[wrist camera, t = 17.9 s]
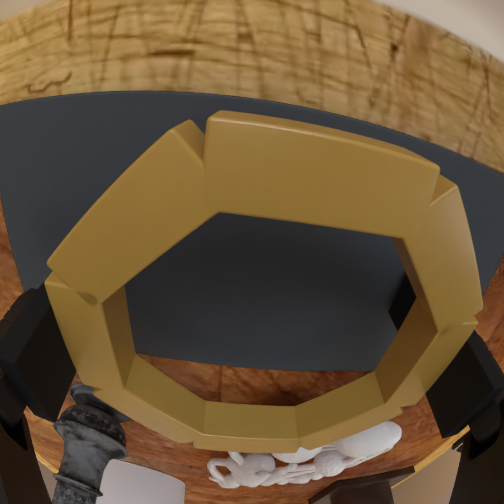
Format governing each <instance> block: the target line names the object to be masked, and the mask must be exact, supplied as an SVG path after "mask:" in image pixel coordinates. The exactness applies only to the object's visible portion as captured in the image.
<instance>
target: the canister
mask: <svg viewBox="0 0 504 504" xmlns="http://www.w3.org/2000/svg"><path fill="white" fill-rule="evenodd" d="M100 491H101V493H103V496H100V497H97V499H96V504H184V496H185V484H184V483H183V482H182V481H181V480H179V479H177V478H175V477H172V476H170V475H168V474H165V473H162V472H159V471H156V470H153V469H150V468H147V467H143V466H140V465H136V464H132V463H128V462H124V461H120V460H116V459H112V460H110V461H109V463H108V464H107V466H106V468H105V470H104V472H103V477H102V481H101V486H100Z"/></svg>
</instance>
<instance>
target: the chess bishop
mask: <svg viewBox="0 0 504 504" xmlns="http://www.w3.org/2000/svg"><path fill="white" fill-rule="evenodd" d="M94 388H95V387H92V386H88V385H84V384H83V383H79V384H75V385H73V386H72V387H71V390H70V392H71V396H72V397H73V399H74V400H75V402H76V403H77V405H74V406H70V407H68V408H67V409H66V410H65V411H64V412H62V413H61V416H60V418H59V419H57V420H56V423H53V427H54V429H55V430H56V431H57V433H58V434H60V435H61V436H62V437H63V439H64V455H63V459H62V462H61V465H60V469H59V472H58V473H57V474H53V476H54V477H55V479H56V480H57V485H56V488H55V492H54V496H53V500H52V504H96V499H97V497H100V496H103V493H101V491H100V486H101V481H102V477H103V472H104V470H105V468H106V466H107V464H108V463H109V461H110V460H112V459H124V458H126V457H128V453H129V452H128V451H127V449H126V448H125V447H126V436H125V432H124V430H123V428H122V427H121V425H120V424H119V423H121V422H126V421H129V420H131V418H130V417H128V416H126V415H124V414H123V413H121V412H119V411H118V410H116V409H115V408H113V407H111V406H110V405H108V404H107V403H105V402H103V401H102V400H100V399H99V398H97V397H96V396H94V395H93V391H94Z"/></svg>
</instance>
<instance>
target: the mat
mask: <svg viewBox="0 0 504 504" xmlns="http://www.w3.org/2000/svg"><path fill="white" fill-rule="evenodd" d="M220 110H225V111H234V112H242V113H250V114H257V115H264V116H270V117H277V118H283V119H289V120H294V121H299V122H305V123H310V124H315V125H319V126H324V127H329V128H333V129H338V130H342V131H346V132H350V133H354V134H358V135H362V136H366V137H369V138H373V139H377V140H380V141H384V142H387V143H390V144H394V145H397V146H400V147H403V148H406V149H408V150H410V151H412V152H414V153H416V154H418V155H420V156H422V157H424V158H426V159H427V160H429V161H431V162H433V163H435V164H437V165H438V166H439V167H440V173H439V174H440V175H442V176H443V177H445V178H447V179H448V180H450V181H452V182H453V183H455V184H456V185H457V186H458V188H459V191H460V195H461V198H462V201H463V205H464V209H465V212H466V216H467V220H468V224H469V228H470V232H471V237H472V241H473V246H474V251H475V256H476V261H477V267H478V273H479V279H480V286H481V293H482V296H483V294H484V292H485V291H486V289H487V287H488V285H489V283H490V281H491V279H492V278H493V276H494V274H495V272H496V270H497V268H498V266H499V264H500V262H501V259H502V257H503V255H504V175H503V174H501V173H499V172H497V171H495V170H493V169H491V168H488V167H486V166H484V165H482V164H480V163H478V162H476V161H473V160H471V159H469V158H467V157H464V156H462V155H460V154H457V153H455V152H453V151H450V150H448V149H445V148H443V147H440V146H438V145H435V144H432V143H430V142H427V141H424V140H422V139H419V138H416V137H413V136H410V135H407V134H404V133H401V132H398V131H395V130H392V129H389V128H386V127H382V126H379V125H376V124H372V123H369V122H365V121H362V120H358V119H354V118H350V117H346V116H342V115H338V114H334V113H330V112H326V111H321V110H317V109H312V108H307V107H302V106H297V105H291V104H286V103H280V102H274V101H268V100H261V99H254V98H246V97H238V96H229V95H219V94H208V93H194V92H176V91H110V92H92V93H79V94H69V95H60V96H51V97H44V98H37V99H31V100H25V101H19V102H14V103H8V104H4V105H0V195H1V201H2V207H3V212H4V218H5V223H6V227H7V232H8V236H9V240H10V244H11V248H12V252H13V256H14V260H15V263H16V267H17V270H18V273H19V277H20V280H21V283H22V286H23V289H24V292H26V291H27V290H29V289H30V288H34V289H38V288H39V287H40V285H41V284H42V283H43V282H44V280H45V279H46V278H47V277H48V275H49V274H50V273H51V272H52V270H51V269H50V268H49V267H48V265H47V260H48V259H49V257H50V256H51V255H52V254H53V252H54V251H55V250H56V248H57V247H58V246H59V245H60V243H61V242H62V241H63V239H64V238H65V237H66V236H67V235H68V233H69V232H70V231H71V230H72V228H73V227H74V226H75V225H76V224H77V222H78V221H79V220H80V219H81V218H82V217H83V215H84V214H85V213H86V212H87V211H88V210H89V209H90V208H91V206H92V205H93V204H94V203H95V202H96V201H97V200H98V199H99V198H100V196H101V195H102V194H103V193H104V192H105V191H106V190H107V189H108V188H109V187H110V186H111V185H112V184H113V183H114V182H115V181H116V180H117V179H118V178H119V176H120V175H121V174H122V173H123V172H124V171H125V170H126V169H127V168H128V167H129V166H130V165H131V164H133V163H134V162H135V161H136V160H137V159H138V158H139V157H140V156H141V155H142V154H143V153H144V152H145V151H146V150H147V149H148V148H149V147H150V146H152V145H153V144H154V143H155V142H156V141H157V140H158V139H159V138H160V137H161V136H163V135H164V134H165V133H166V132H167V131H168V130H170V129H171V128H173V127H175V126H177V125H179V124H181V123H183V122H185V121H186V120H189V119H190V120H192V121H193V122H194V123H195V124H196V125H197V127H198V128H199V129H200V130H201V131H202V132H203V134H204V135H205V129H206V121H207V119H208V117H210V116H211V115H213V114H214V113H216V112H217V111H220ZM405 275H406V271H405V269H404V267H403V265H402V262H401V260H400V258H399V256H398V254H397V251H396V249H395V247H394V245H393V243H392V241H391V239H390V237H389V236H383V235H377V234H371V233H365V232H359V231H352V230H346V229H339V228H333V227H326V226H319V225H313V224H306V223H299V222H292V221H284V220H277V219H269V218H262V217H254V216H246V215H238V214H230V213H222V212H219V213H217V214H216V215H214V216H213V217H212V218H210V219H209V220H208V221H206V222H205V223H204V224H202V225H201V226H200V227H198V228H197V229H196V230H194V231H193V232H192V233H190V234H189V235H188V236H186V237H185V238H184V239H182V240H181V241H180V242H178V243H177V244H176V245H174V246H173V247H172V248H171V249H169V250H168V251H167V252H165V253H164V254H163V255H161V256H160V257H159V258H158V259H156V260H155V261H154V262H153V263H151V264H150V265H149V266H147V267H146V268H145V269H144V270H142V271H141V272H140V273H139V274H137V275H136V276H135V277H134V278H132V279H131V280H130V281H129V282H127V283H126V284H125V292H126V300H127V306H128V313H129V319H130V325H131V331H132V337H133V342H134V347H135V352H136V353H141V354H146V355H152V356H158V357H164V358H170V359H177V360H184V361H191V362H199V363H207V364H215V365H224V366H234V367H245V368H258V369H273V370H293V371H374V369H375V368H376V366H377V365H378V363H379V362H380V360H381V359H382V357H383V355H384V354H385V352H386V351H387V349H388V347H389V346H390V344H391V342H392V341H393V339H394V337H395V336H396V334H397V332H398V331H397V329H396V327H395V325H394V323H393V321H392V319H391V317H390V315H389V313H388V311H389V309H390V307H391V305H392V303H393V301H394V299H395V297H396V295H397V293H398V291H399V288H400V286H401V284H402V282H403V280H404V278H405Z"/></svg>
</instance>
